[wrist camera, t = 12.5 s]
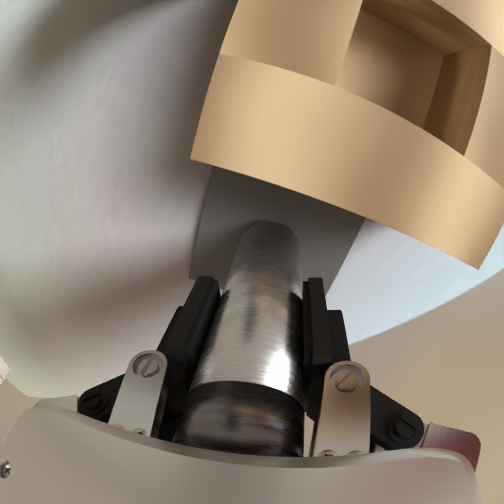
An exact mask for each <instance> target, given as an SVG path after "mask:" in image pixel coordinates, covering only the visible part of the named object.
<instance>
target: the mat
mask: <svg viewBox="0 0 504 504" xmlns="http://www.w3.org/2000/svg"><path fill="white" fill-rule="evenodd" d="M364 220H365V217H363V216H361V215H358V214H356V213H353V212H351V211H348V210H346V209H343V208H341V207H338V206H335V205H333V204H330V203H327V202H325V201H322V200H319V199H316V198H314V197H311V196H308V195H305V194H303V193H300V192H297V191H294V190H291V189H288V188H285V187H282V186H279V185H276V184H273V183H270V182H267V181H264V180H261V179H258V178H254V177H251V176H248V175H245V174H241V173H238V172H235V171H231V170H228V169H225V168H221V167H218V166H214V167H213V171H212V175H211V179H210V183H209V187H208V191H207V195H206V200H205V204H204V208H203V213H202V217H201V221H200V226H199V230H198V235H197V240H196V244H195V249H194V254H193V259H192V264H191V269H190V274H189V278H191V279H194V280H197V278H198V277H199V276H212V277H213V278H214V280H218V283H219V288H221V289H224V287H225V284H226V281H227V278H228V276H229V273H230V270H231V267H232V264H233V261H234V259H235V256H236V253H237V250H238V247H239V245H240V242H241V239H242V237H243V235H244V233H245V232H246V231H247V230H248V229H249V228H250V227H251V226H253V225H255V224H257V223H260V222H265V221H273V222H278V223H281V224H284V225H285V226H287V227H289V228H290V229H291V230H292V231H293V232H294V233H295V235H296V236H297V238H298V240H299V244H300V253H301V270H302V289H303V281H308V277H322V280H323V286H324V293H325V296H326V294H327V292H328V290H329V288H330V287H331V285H332V283H333V281H334V279H335V277H336V276H337V274H338V272H339V270H340V268H341V266H342V264H343V262H344V260H345V258H346V256H347V254H348V252H349V250H350V248H351V246H352V244H353V242H354V240H355V238H356V236H357V234H358V232H359V230H360V228H361V226H362V224H363V222H364Z"/></svg>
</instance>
